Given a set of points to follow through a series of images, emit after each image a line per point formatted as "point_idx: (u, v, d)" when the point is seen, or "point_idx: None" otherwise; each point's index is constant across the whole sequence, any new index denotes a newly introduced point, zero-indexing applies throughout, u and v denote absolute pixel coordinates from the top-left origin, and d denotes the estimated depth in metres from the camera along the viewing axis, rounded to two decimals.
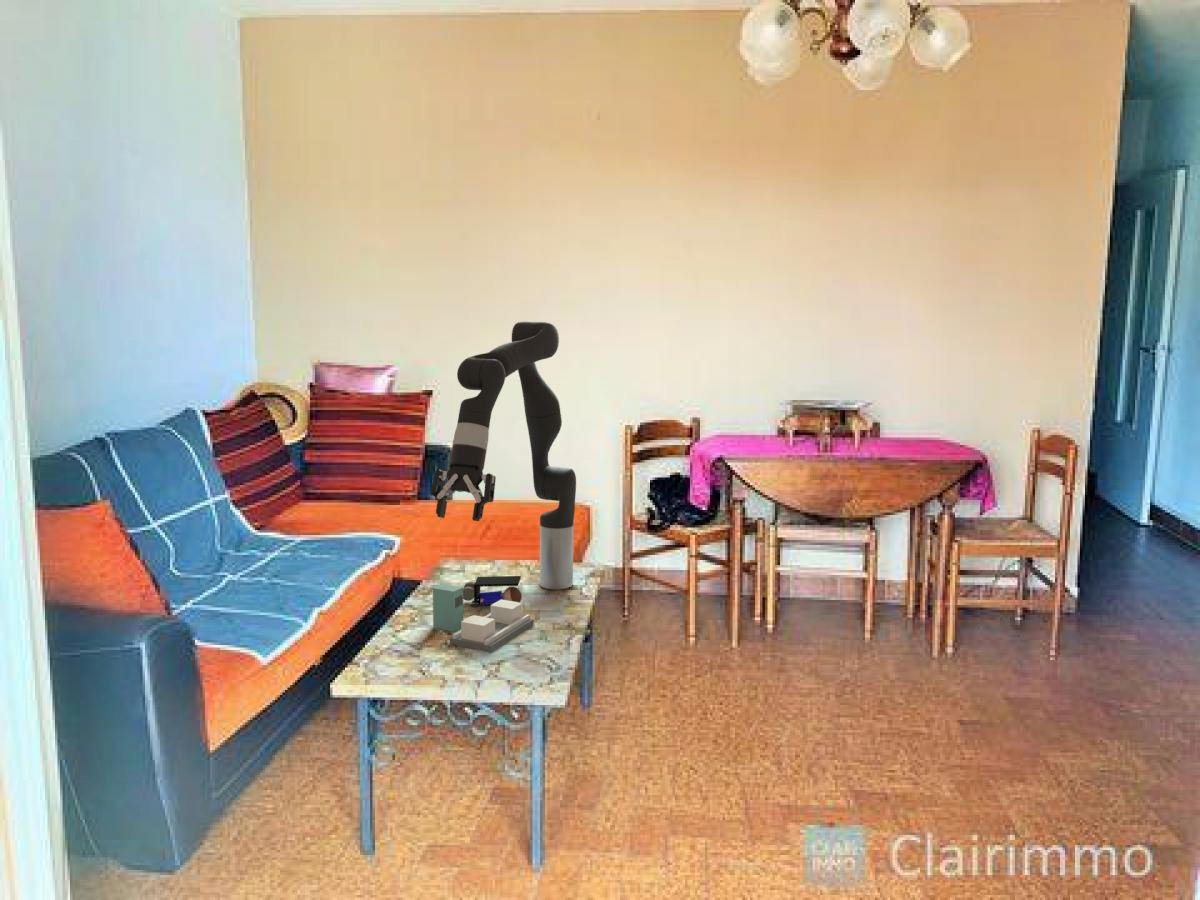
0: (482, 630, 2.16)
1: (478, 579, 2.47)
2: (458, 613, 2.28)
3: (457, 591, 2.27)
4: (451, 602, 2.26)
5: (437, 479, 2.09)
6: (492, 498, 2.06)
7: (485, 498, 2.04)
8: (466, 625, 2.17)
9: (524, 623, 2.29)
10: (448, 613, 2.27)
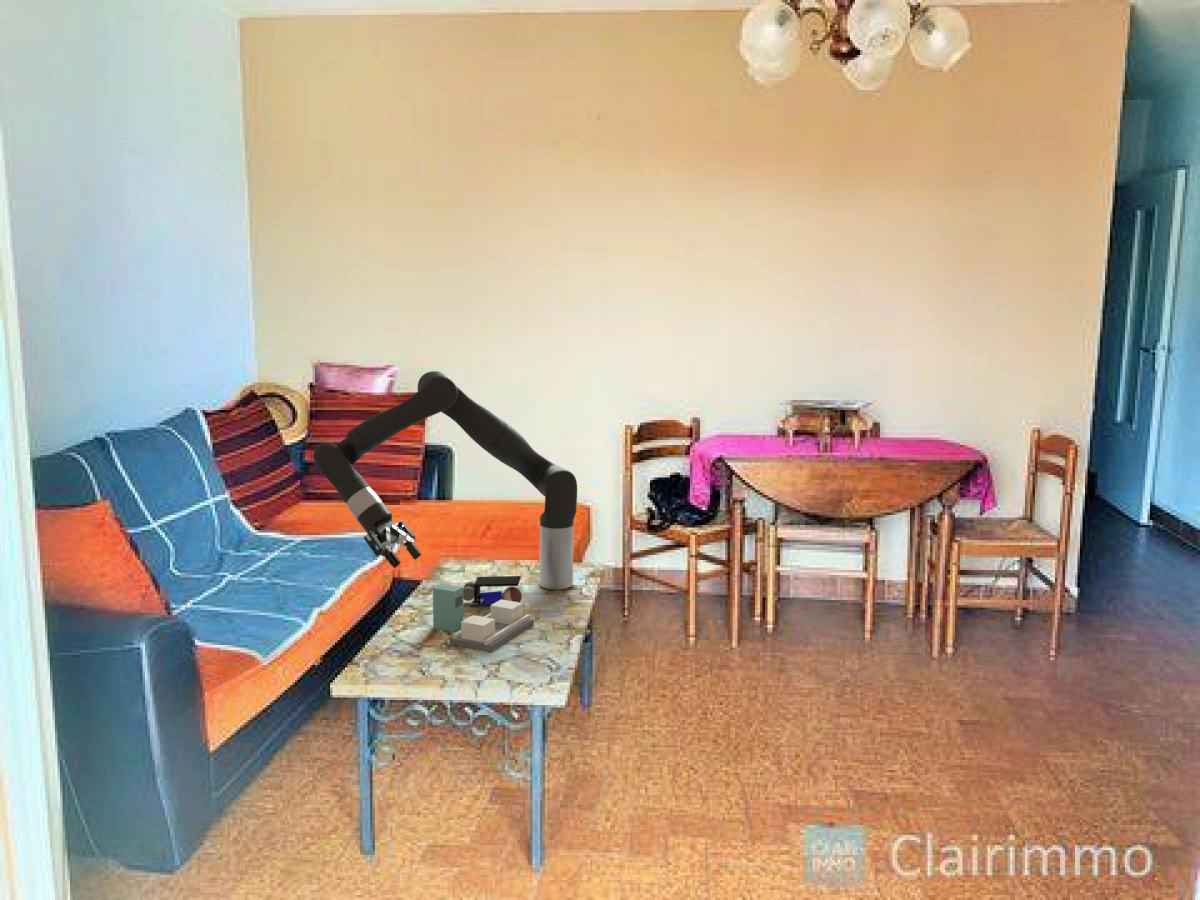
0: (482, 630, 2.16)
1: (478, 579, 2.47)
2: (458, 613, 2.28)
3: (457, 591, 2.27)
4: (451, 602, 2.26)
5: None
6: (379, 549, 2.26)
7: None
8: (466, 625, 2.17)
9: (524, 623, 2.29)
10: (448, 613, 2.27)
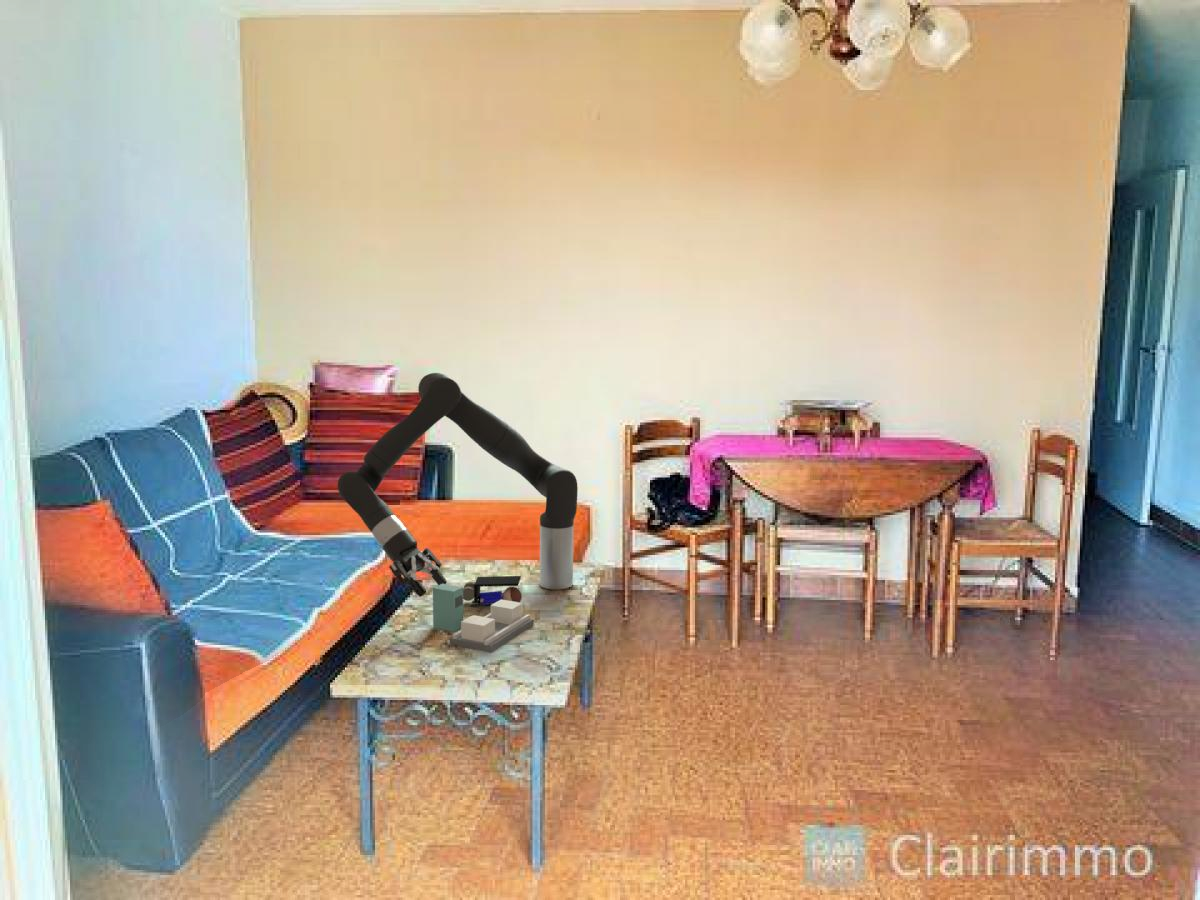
0: (482, 630, 2.16)
1: (478, 579, 2.47)
2: (458, 613, 2.28)
3: (457, 591, 2.27)
4: (451, 602, 2.26)
5: None
6: (404, 578, 2.25)
7: None
8: (466, 625, 2.17)
9: (524, 623, 2.29)
10: (448, 613, 2.27)
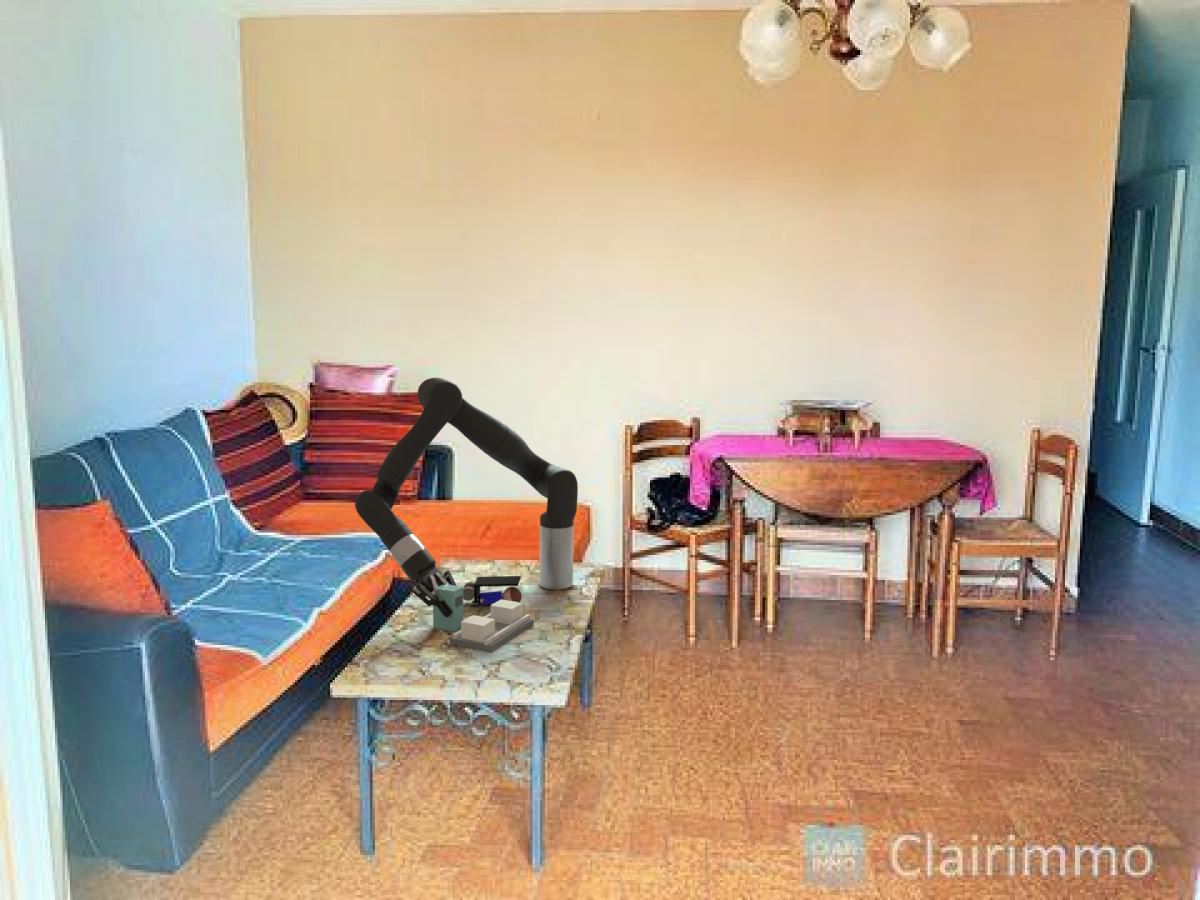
0: (482, 630, 2.16)
1: (478, 579, 2.47)
2: (458, 613, 2.28)
3: (457, 591, 2.27)
4: (451, 602, 2.26)
5: None
6: (432, 600, 2.24)
7: None
8: (466, 625, 2.17)
9: (524, 623, 2.29)
10: None
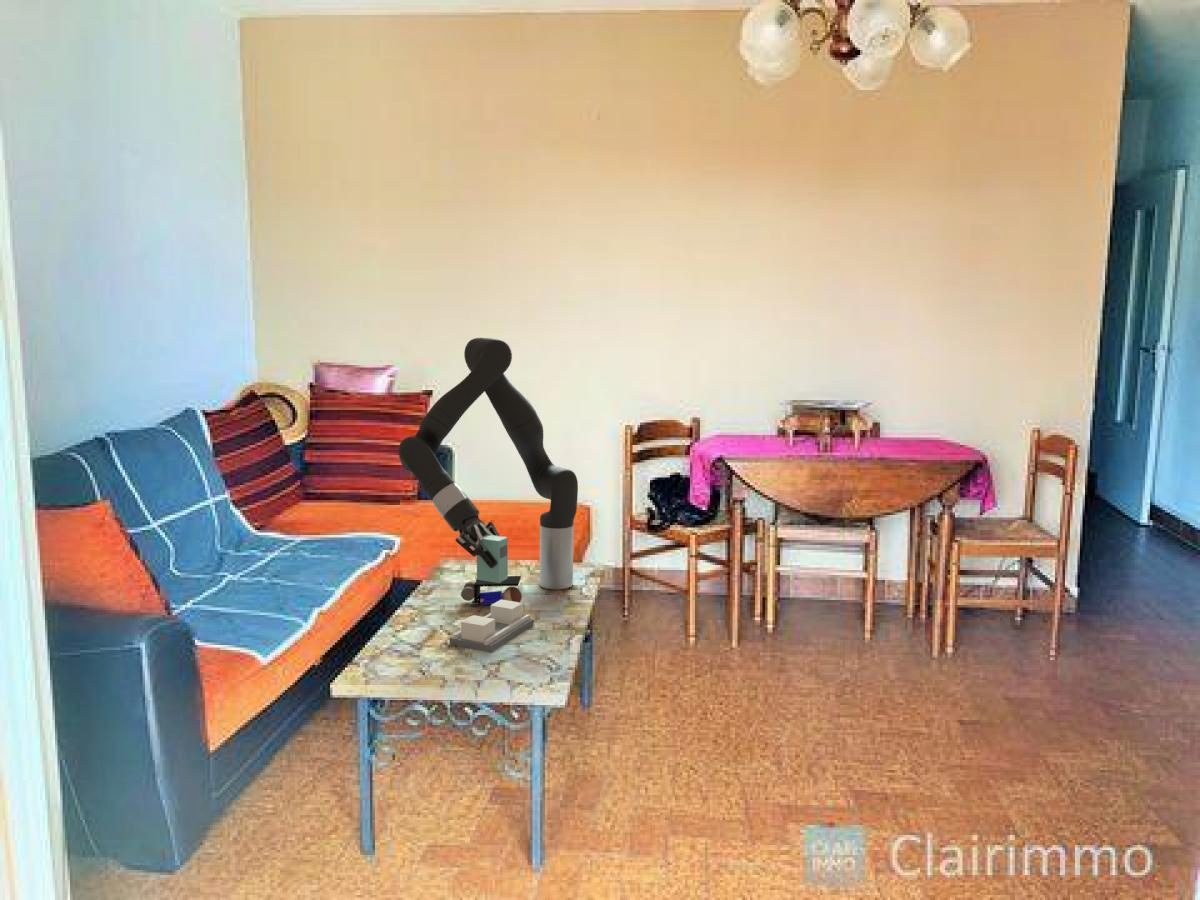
0: (482, 630, 2.16)
1: None
2: (503, 564, 2.22)
3: (502, 541, 2.20)
4: (495, 552, 2.20)
5: None
6: (476, 550, 2.18)
7: None
8: (466, 625, 2.17)
9: (524, 623, 2.29)
10: None
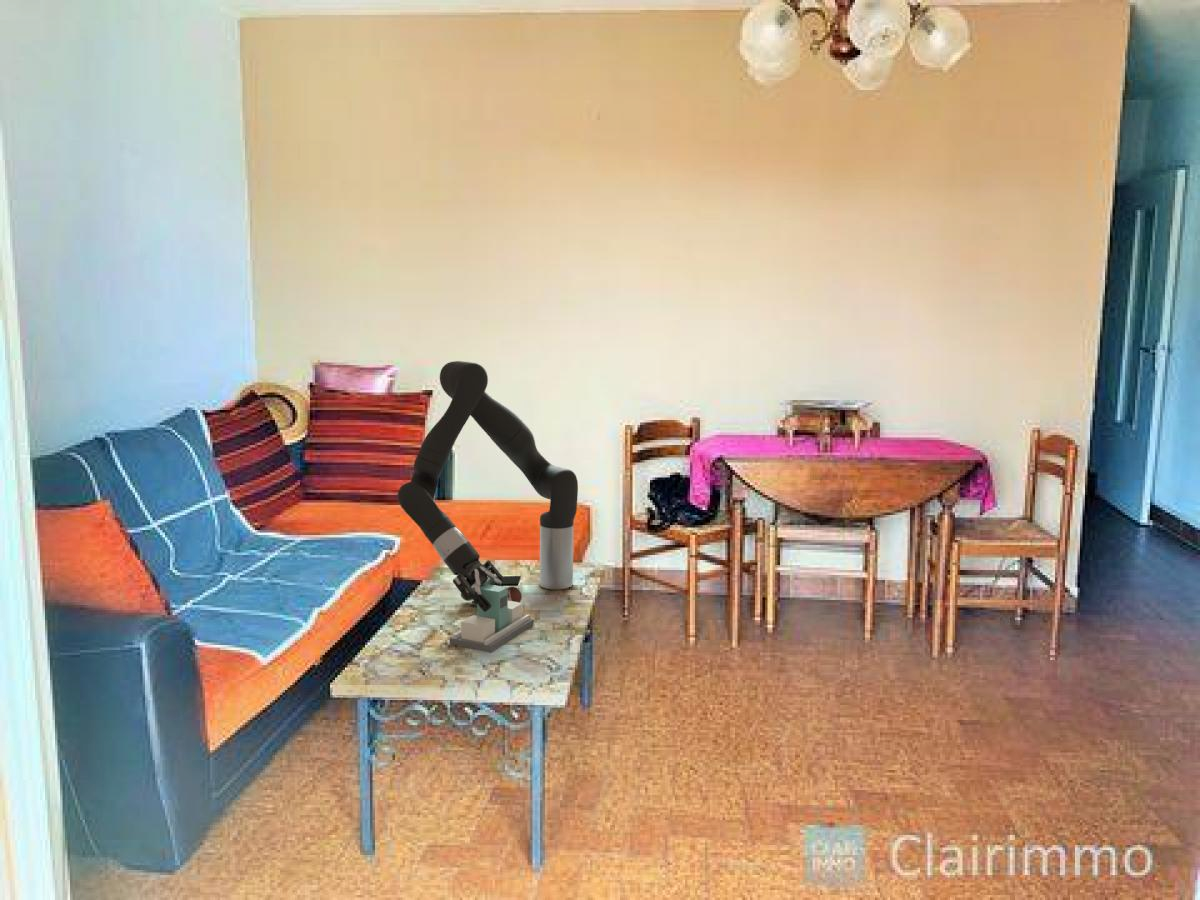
0: (482, 630, 2.16)
1: None
2: (503, 614, 2.23)
3: (502, 591, 2.22)
4: (495, 603, 2.21)
5: None
6: (469, 593, 2.18)
7: None
8: (466, 625, 2.17)
9: (524, 623, 2.29)
10: (493, 614, 2.22)
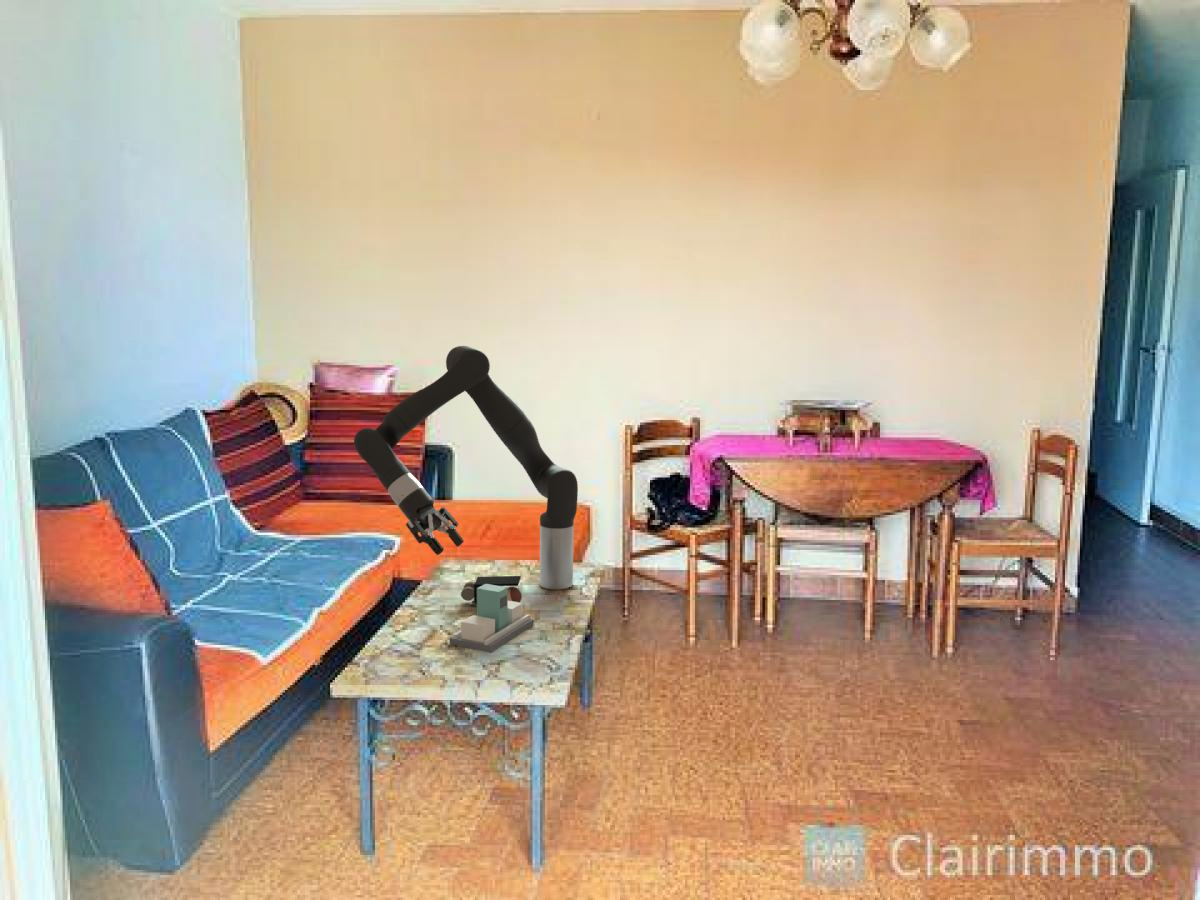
0: (482, 630, 2.16)
1: (478, 579, 2.47)
2: (503, 614, 2.23)
3: (502, 591, 2.22)
4: (495, 603, 2.21)
5: None
6: (422, 536, 2.21)
7: None
8: (466, 625, 2.17)
9: (524, 623, 2.29)
10: (493, 614, 2.22)
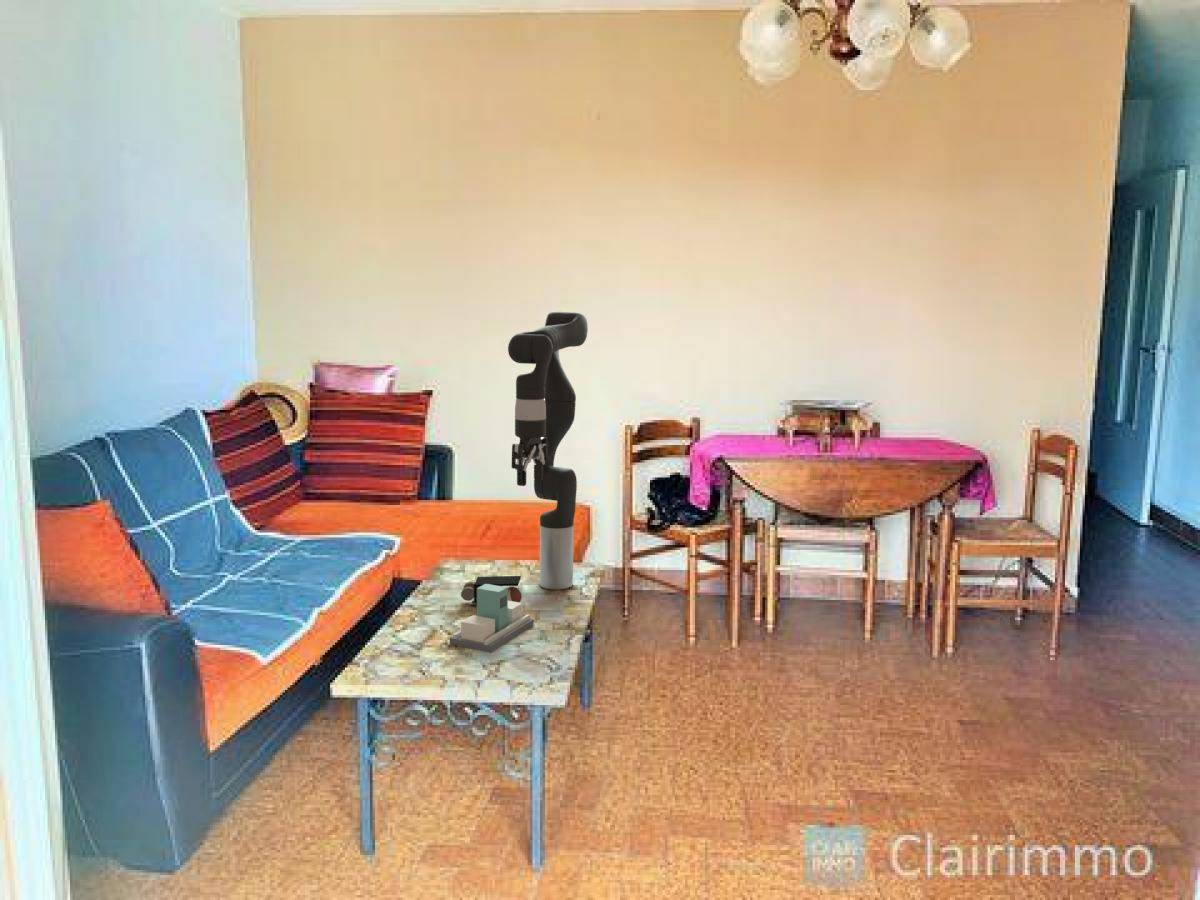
0: (482, 630, 2.16)
1: (478, 579, 2.47)
2: (503, 614, 2.23)
3: (502, 591, 2.22)
4: (495, 603, 2.21)
5: None
6: (518, 466, 2.26)
7: None
8: (466, 625, 2.17)
9: (524, 623, 2.29)
10: (493, 614, 2.22)
